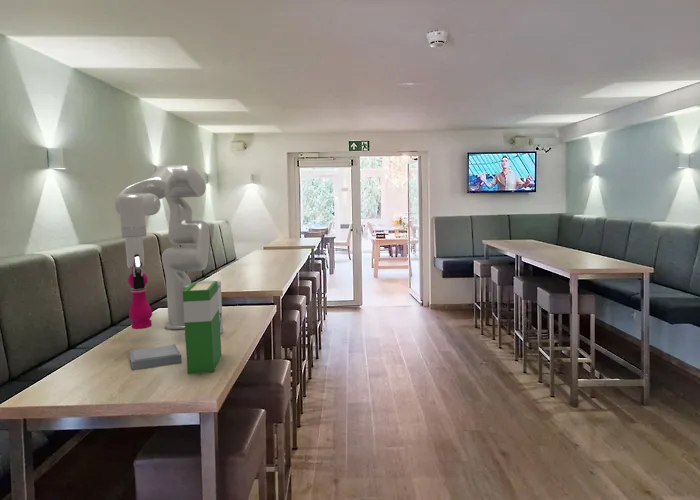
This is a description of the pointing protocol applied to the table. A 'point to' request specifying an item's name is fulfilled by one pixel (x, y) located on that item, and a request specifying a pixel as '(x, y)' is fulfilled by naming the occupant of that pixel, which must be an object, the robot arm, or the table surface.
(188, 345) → the hardback book
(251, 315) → the table surface
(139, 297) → the pepper mill
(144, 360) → the slate stand
